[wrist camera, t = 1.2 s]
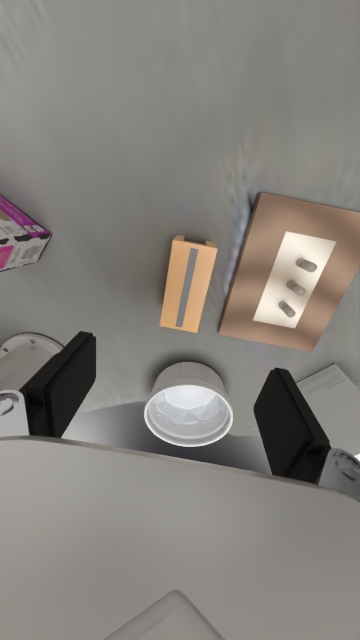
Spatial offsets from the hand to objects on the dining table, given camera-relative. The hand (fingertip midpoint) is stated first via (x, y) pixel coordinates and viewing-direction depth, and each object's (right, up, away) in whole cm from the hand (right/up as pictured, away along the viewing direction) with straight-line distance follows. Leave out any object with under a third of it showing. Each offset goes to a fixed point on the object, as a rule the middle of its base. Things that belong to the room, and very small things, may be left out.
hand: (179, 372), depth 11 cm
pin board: (+14, +8, +17) cm, 24 cm away
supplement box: (+24, -8, +25) cm, 36 cm away
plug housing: (+1, +9, +18) cm, 20 cm away
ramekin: (+2, -9, +27) cm, 28 cm away
